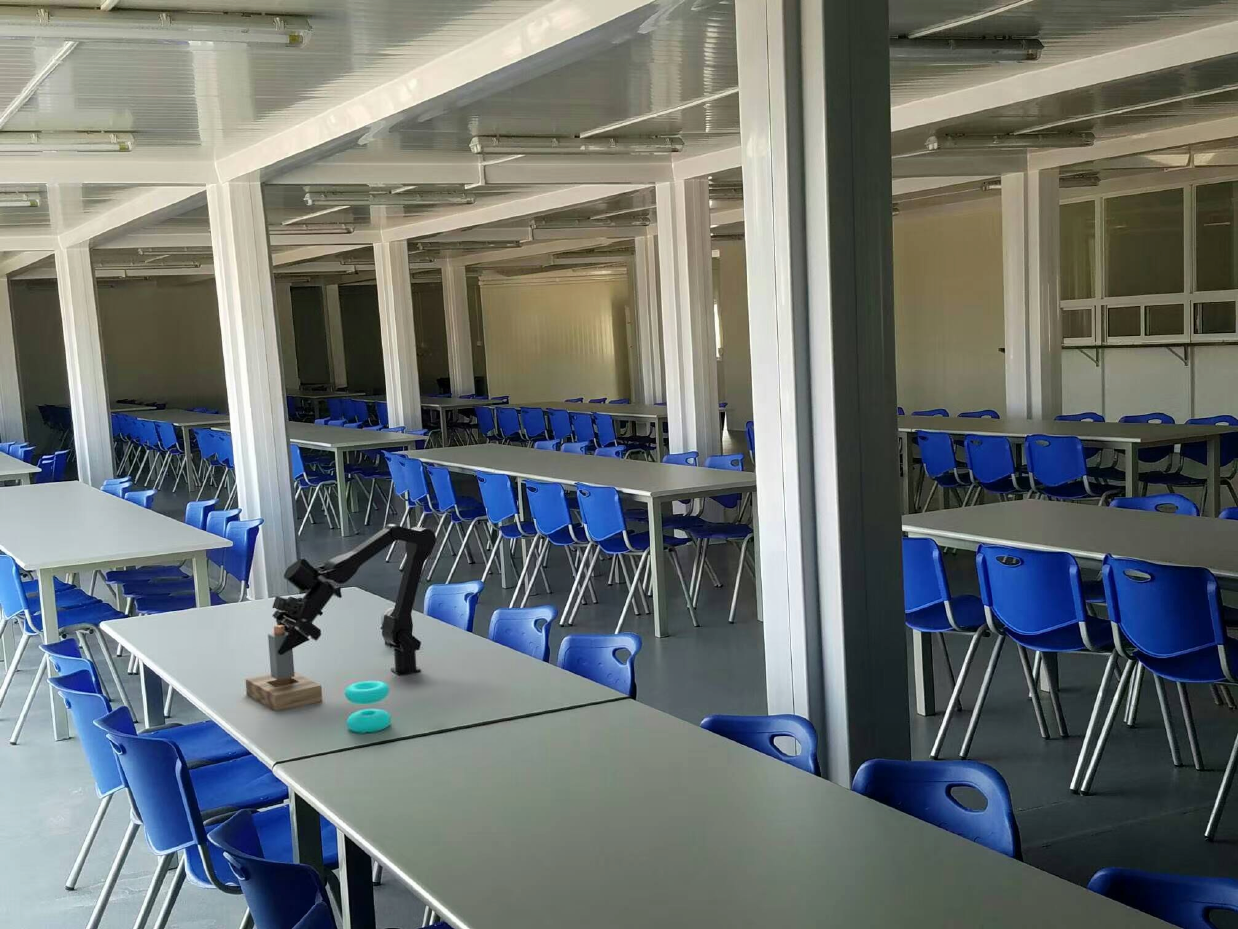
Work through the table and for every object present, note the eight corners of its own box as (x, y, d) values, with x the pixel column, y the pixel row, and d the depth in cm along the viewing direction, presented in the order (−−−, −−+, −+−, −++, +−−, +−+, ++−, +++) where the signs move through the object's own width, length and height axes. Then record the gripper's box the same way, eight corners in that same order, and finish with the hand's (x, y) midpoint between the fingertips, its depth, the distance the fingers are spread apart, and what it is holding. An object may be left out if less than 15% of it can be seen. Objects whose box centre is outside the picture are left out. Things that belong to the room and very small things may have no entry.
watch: (412, 643, 361) (410, 606, 360) (388, 648, 356) (386, 611, 354) (403, 640, 365) (401, 604, 364) (379, 645, 360) (377, 608, 359)
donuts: (386, 677, 288) (390, 688, 279) (389, 718, 289) (393, 731, 280) (343, 682, 286) (345, 693, 276) (346, 723, 287) (348, 736, 277)
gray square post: (287, 673, 313) (284, 623, 311) (294, 676, 309) (290, 626, 308) (271, 676, 310) (267, 626, 309) (277, 680, 307) (273, 629, 305)
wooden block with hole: (322, 700, 306) (321, 685, 305) (276, 711, 299) (274, 695, 298) (291, 684, 322) (290, 669, 321) (246, 694, 315) (245, 679, 314)
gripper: (277, 578, 317) (238, 628, 312) (305, 588, 302) (265, 640, 297) (308, 603, 323) (270, 652, 317) (337, 614, 308) (299, 666, 302)
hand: (275, 652), depth 308 cm, fingers closed on gray square post, 4 cm apart
